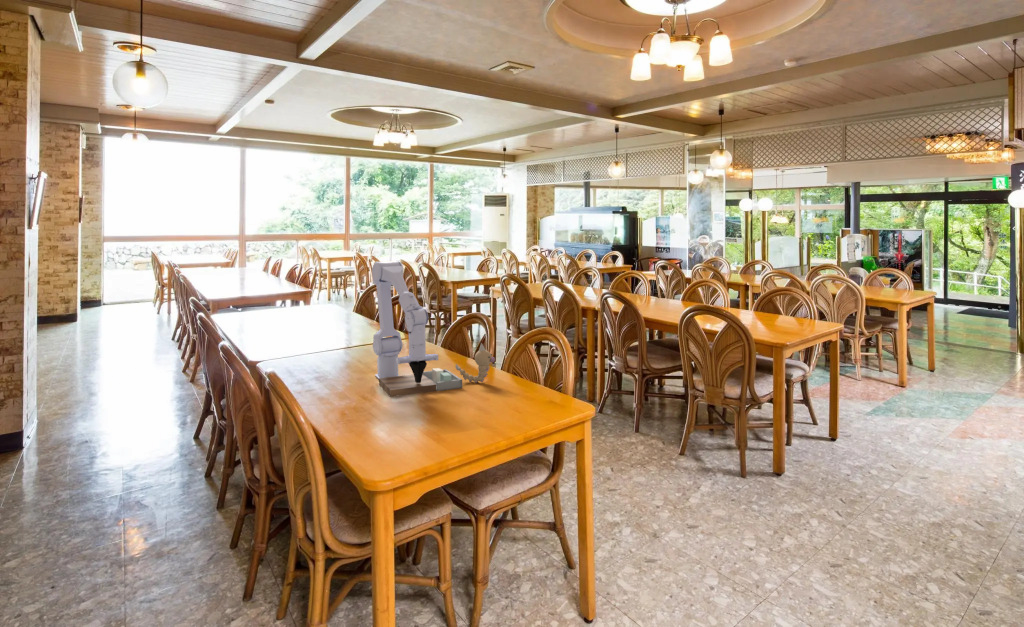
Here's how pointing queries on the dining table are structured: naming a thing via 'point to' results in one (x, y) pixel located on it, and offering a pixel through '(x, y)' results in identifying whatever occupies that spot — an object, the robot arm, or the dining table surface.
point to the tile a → (436, 374)
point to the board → (406, 385)
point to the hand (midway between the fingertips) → (418, 382)
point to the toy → (483, 361)
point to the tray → (445, 385)
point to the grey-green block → (445, 377)
